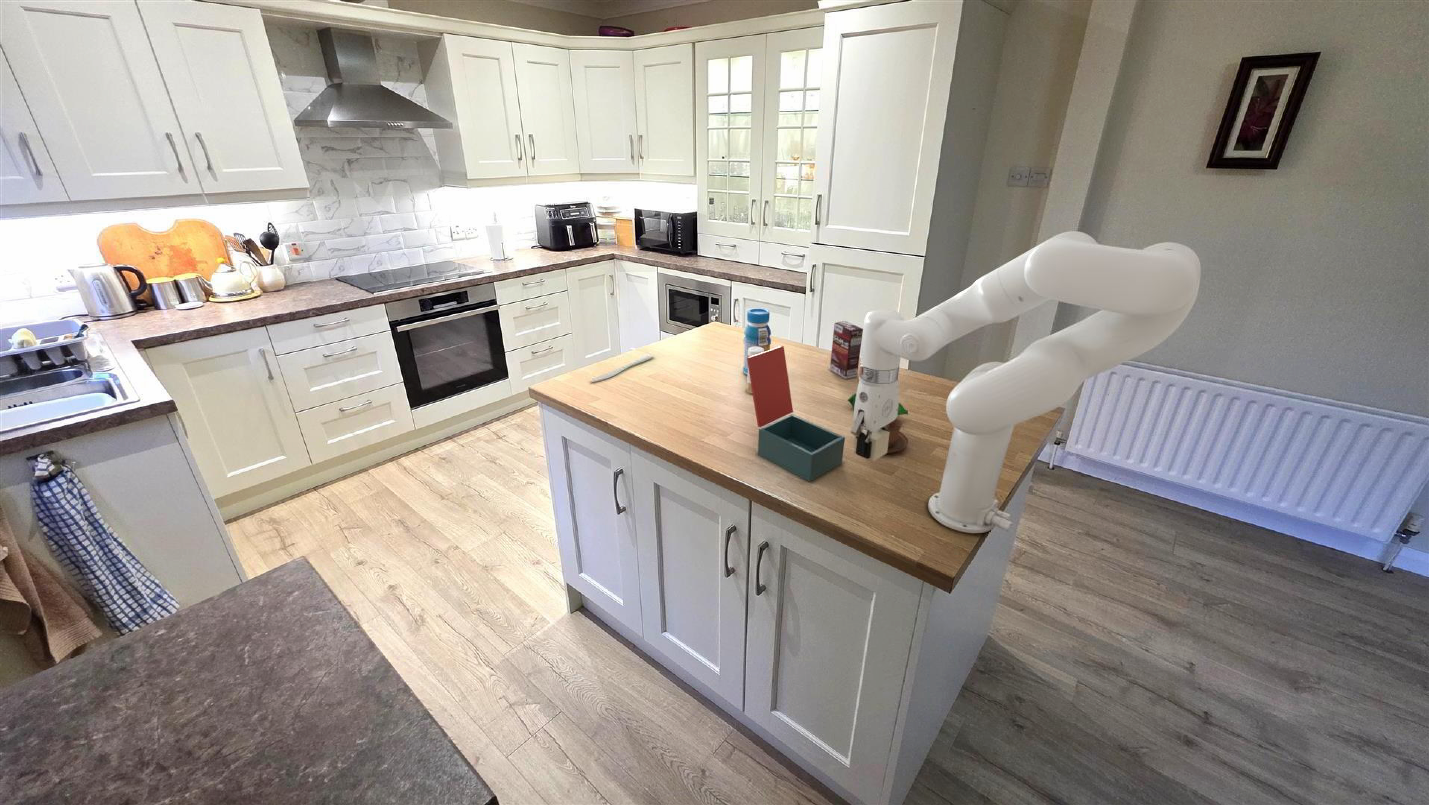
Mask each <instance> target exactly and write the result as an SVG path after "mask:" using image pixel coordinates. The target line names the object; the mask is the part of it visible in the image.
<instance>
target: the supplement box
mask: <svg viewBox="0 0 1429 805" xmlns="http://www.w3.org/2000/svg"><path fill="white" fill-rule="evenodd" d="M862 339H863V327H860V326H857V325H855V324H853V323H851V322H849V321H848V320H842V321H837V322H834V325H833V335H832V345H831V354H830V355H831V356H830V363H829V364H830V365H829V370H830V371H831V372H832V373H835V374H837V375H839V376H840V377H841V378H843V379H845V380H849V379H853V378H856V377H858V372H859V366H860V358H861V350H862Z"/></svg>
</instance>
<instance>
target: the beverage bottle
mask: <svg viewBox="0 0 1429 805" xmlns="http://www.w3.org/2000/svg"><path fill="white" fill-rule="evenodd" d="M746 321H747V323H748V324H746V327H745V328H744V332H743V333H744V338H743V367H742V371H743V373H744V374H745V375H747V376H748V362H747V358H748V349H749V348H750V347H754V346H757V347H762V348H763V349H764V352H765V351H768V350H771V344H772V339H771V335H772V331H771V328H770V325H769V324H768V323H769V322H770V311H769V310H768V309H766V308H761V307H759V308H750V309H748V310H747V313H746Z"/></svg>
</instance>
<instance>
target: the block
mask: <svg viewBox="0 0 1429 805" xmlns="http://www.w3.org/2000/svg"><path fill="white" fill-rule="evenodd" d="M862 432H863V433H864V434H865V435H866V434H867V430H864V429H863V431H862ZM888 441H889V432H888V431H885V430H882V429H879V430H877V431H874V432H872V435H871V439H870V442H872V445H871V454H870V458H869V459H868V460H870V461H873V462H875V461H877V460H878V459H879V458H882V457H883V456H884V455H887V454H888V453H887V449H888ZM856 446H857V439H856V436H855V435H854V447H853V454H856Z"/></svg>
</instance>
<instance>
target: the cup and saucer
mask: <svg viewBox="0 0 1429 805" xmlns="http://www.w3.org/2000/svg"><path fill="white" fill-rule="evenodd" d="M902 424H903V423H902V420H899V419H898V418H896V419H895V420H894V421H892V422H891V423H890V424H889V430H888V432H889V441H888V449H887V453H886V454H891V453H897V452H900V451H902V450H904V449H905V448H907V446H908V444H909V439H908V437H907V436H906V434H904V433H903V432H902V431H900V429H901V428H902Z"/></svg>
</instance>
